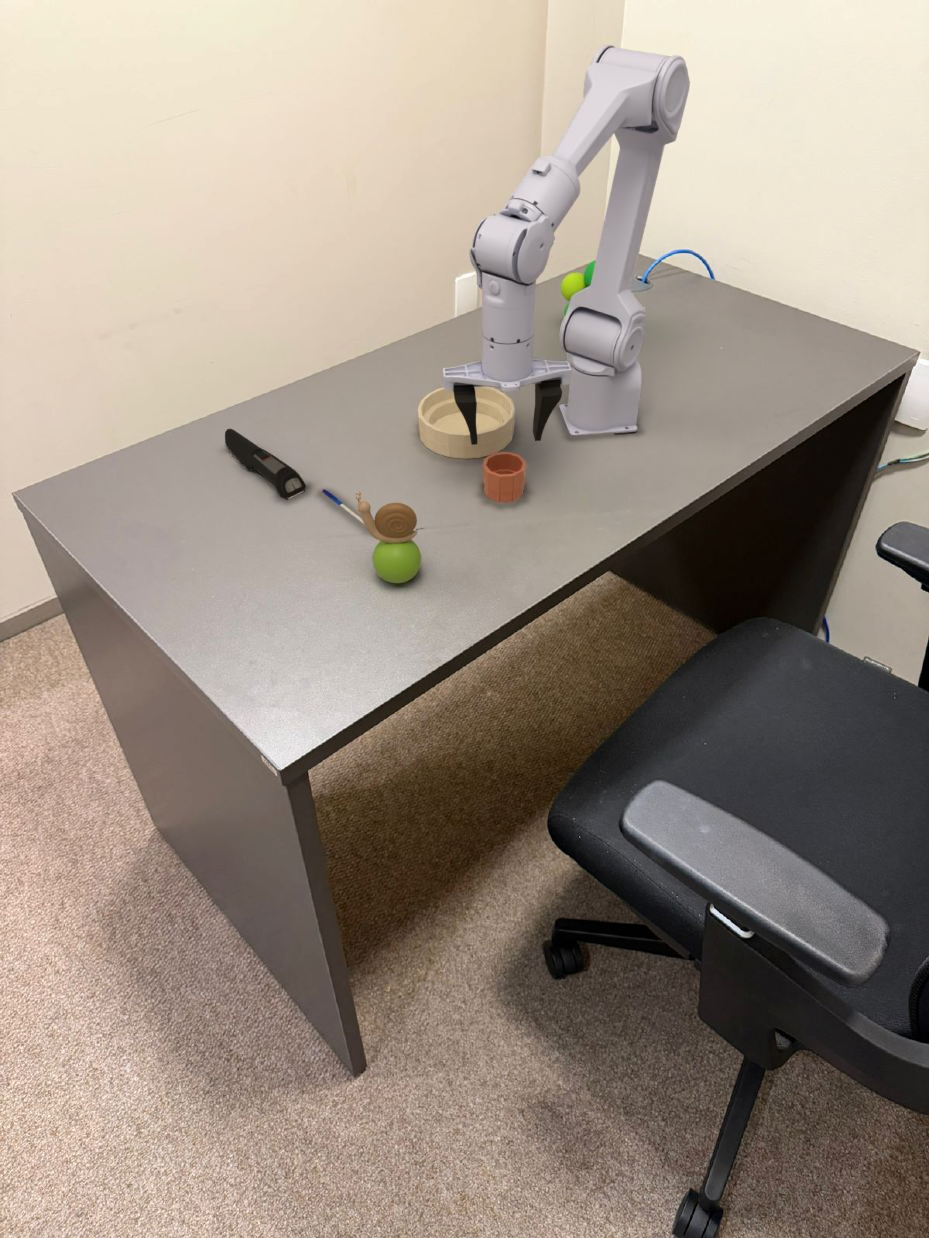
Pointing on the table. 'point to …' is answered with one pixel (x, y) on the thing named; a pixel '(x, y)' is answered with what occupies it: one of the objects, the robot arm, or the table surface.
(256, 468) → the electric trimmer
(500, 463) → the terracotta pot
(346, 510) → the ballpoint pen
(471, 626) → the table surface
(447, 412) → the cream bowl
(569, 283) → the molecule model
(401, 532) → the snail figurine
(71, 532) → the table surface
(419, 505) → the table surface
